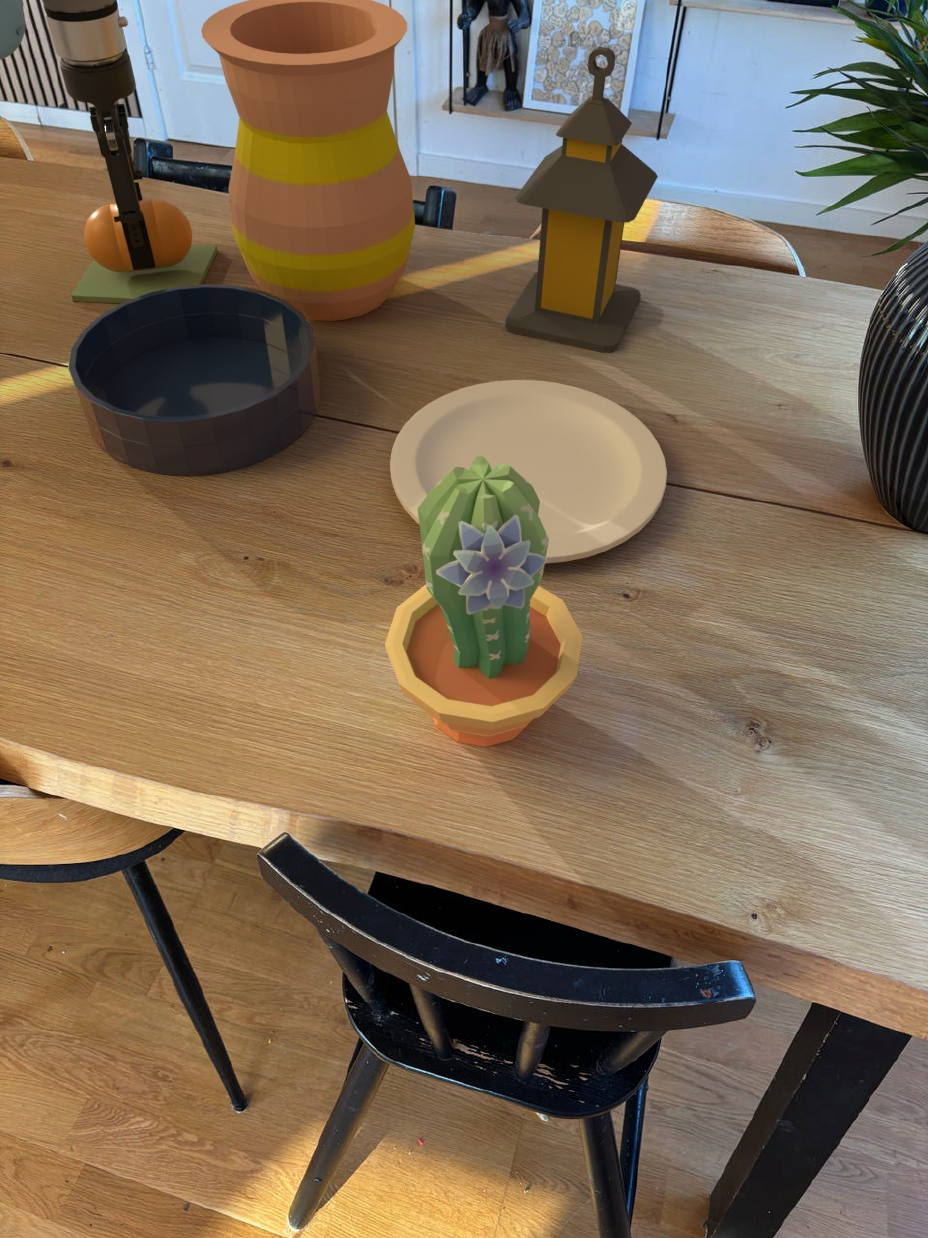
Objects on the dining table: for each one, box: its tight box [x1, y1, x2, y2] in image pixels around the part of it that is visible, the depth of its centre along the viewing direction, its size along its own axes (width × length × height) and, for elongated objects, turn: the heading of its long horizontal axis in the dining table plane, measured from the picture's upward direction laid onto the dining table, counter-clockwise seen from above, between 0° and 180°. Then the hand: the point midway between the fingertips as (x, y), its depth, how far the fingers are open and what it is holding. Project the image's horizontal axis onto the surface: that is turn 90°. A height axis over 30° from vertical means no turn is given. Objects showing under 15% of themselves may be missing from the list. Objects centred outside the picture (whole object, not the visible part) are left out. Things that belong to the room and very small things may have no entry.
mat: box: [70, 243, 219, 304], centre depth 126 cm, size 15×14×1 cm
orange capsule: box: [83, 198, 193, 273], centre depth 123 cm, size 13×8×8 cm, turn 106°
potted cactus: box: [384, 456, 584, 748], centre depth 73 cm, size 15×15×25 cm
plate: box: [389, 379, 668, 564], centre depth 100 cm, size 28×28×2 cm
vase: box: [200, 0, 416, 322], centre depth 114 cm, size 22×22×30 cm
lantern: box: [505, 46, 659, 354], centre depth 111 cm, size 14×14×30 cm
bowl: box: [67, 283, 322, 477], centre depth 106 cm, size 25×25×7 cm
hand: (142, 250), depth 124 cm, fingers closed on orange capsule, 8 cm apart
